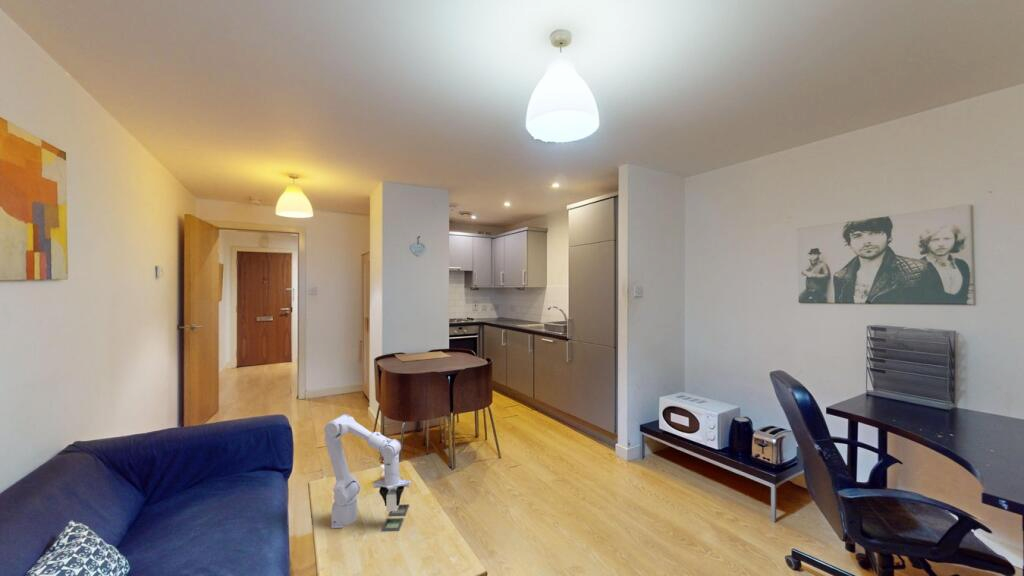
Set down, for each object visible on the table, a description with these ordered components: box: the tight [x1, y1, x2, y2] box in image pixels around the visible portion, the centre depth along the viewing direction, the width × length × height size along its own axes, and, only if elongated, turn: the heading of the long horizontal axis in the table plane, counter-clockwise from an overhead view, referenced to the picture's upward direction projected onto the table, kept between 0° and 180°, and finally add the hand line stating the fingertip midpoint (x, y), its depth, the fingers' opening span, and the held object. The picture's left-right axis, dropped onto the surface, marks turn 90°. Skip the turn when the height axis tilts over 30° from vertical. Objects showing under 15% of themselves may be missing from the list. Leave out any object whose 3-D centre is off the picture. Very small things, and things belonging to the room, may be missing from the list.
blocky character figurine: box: [379, 463, 385, 478], centre depth 198 cm, size 9×4×12 cm, turn 125°
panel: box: [380, 503, 410, 532], centre depth 166 cm, size 9×18×2 cm, turn 2°
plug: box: [385, 488, 399, 512], centre depth 161 cm, size 4×4×7 cm
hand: (392, 504), depth 161 cm, fingers closed on plug, 4 cm apart
